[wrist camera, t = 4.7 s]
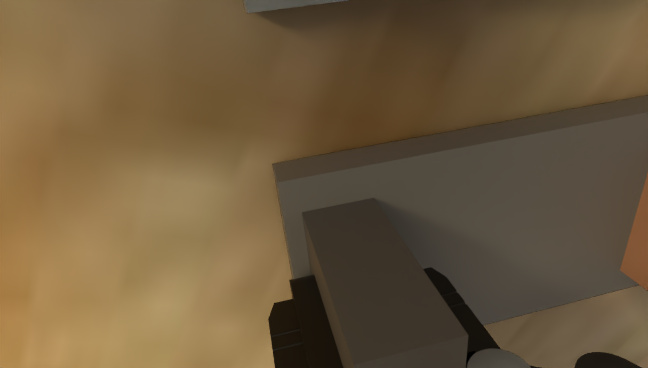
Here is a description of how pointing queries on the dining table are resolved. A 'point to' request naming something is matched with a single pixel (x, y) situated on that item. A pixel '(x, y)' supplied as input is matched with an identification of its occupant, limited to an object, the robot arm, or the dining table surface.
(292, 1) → the empty strip
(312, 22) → the dining table surface
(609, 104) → the strip
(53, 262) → the dining table surface
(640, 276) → the block
